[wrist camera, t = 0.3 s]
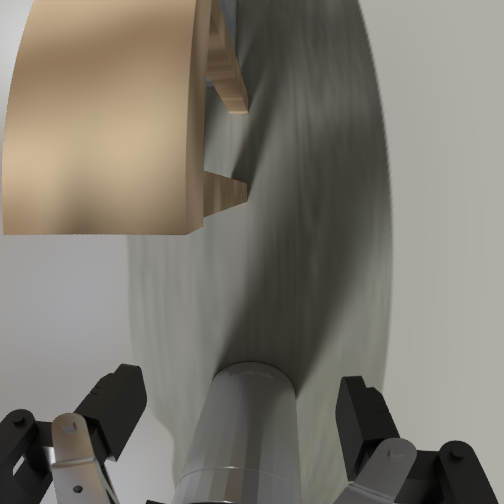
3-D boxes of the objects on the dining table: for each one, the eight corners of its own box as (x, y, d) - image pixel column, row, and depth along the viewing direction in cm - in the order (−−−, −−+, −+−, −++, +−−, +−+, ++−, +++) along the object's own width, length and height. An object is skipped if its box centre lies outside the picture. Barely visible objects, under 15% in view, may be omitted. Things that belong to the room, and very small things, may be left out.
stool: (249, 203, 27) (186, 235, 8) (172, 204, 28) (3, 234, 8) (250, 94, 25) (204, -63, 6) (175, 98, 26) (37, -10, 6)
